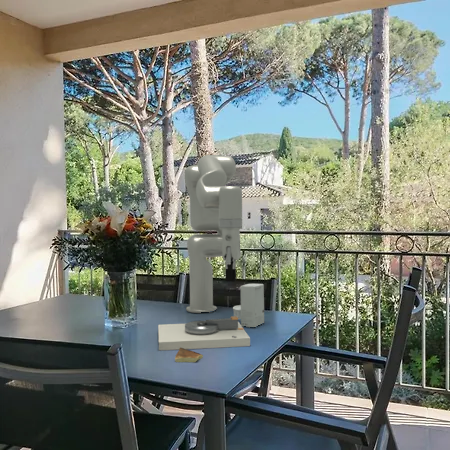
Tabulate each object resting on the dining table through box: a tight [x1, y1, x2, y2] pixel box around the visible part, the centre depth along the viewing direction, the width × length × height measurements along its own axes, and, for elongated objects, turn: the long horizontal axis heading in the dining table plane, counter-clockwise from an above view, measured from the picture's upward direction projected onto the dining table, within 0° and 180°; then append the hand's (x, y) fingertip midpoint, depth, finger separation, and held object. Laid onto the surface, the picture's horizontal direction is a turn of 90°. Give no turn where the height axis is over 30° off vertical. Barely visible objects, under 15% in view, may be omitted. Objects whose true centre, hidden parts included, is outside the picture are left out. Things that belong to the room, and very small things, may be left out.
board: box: [157, 321, 251, 351], centre depth 160 cm, size 22×28×3 cm
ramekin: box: [232, 304, 241, 319], centre depth 189 cm, size 9×9×4 cm
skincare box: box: [240, 283, 265, 328], centre depth 178 cm, size 8×6×15 cm
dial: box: [184, 315, 239, 335], centre depth 161 cm, size 18×11×4 cm, turn 102°
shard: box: [174, 347, 204, 363], centre depth 142 cm, size 11×8×2 cm
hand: (230, 280), depth 159 cm, fingers closed
